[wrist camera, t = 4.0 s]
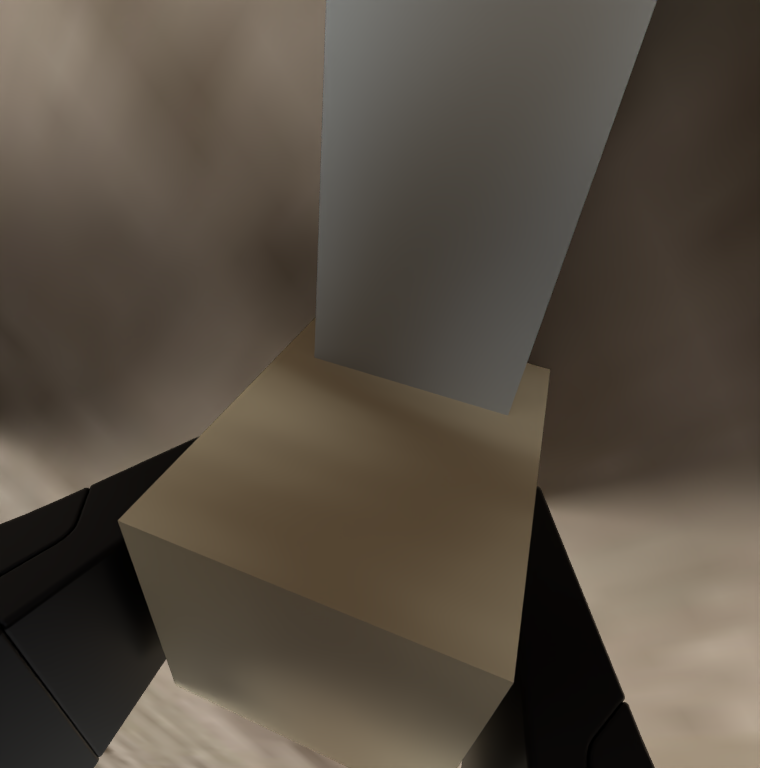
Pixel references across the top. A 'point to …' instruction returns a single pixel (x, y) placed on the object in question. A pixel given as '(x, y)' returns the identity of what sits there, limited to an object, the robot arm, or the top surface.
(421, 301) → the beige block with post
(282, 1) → the top surface
